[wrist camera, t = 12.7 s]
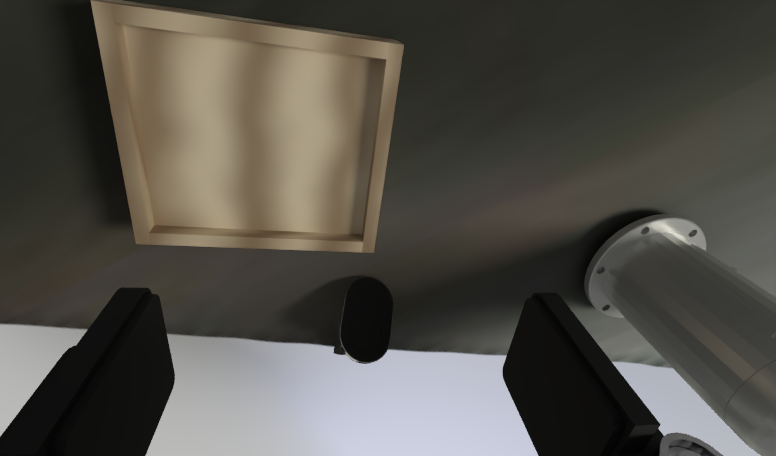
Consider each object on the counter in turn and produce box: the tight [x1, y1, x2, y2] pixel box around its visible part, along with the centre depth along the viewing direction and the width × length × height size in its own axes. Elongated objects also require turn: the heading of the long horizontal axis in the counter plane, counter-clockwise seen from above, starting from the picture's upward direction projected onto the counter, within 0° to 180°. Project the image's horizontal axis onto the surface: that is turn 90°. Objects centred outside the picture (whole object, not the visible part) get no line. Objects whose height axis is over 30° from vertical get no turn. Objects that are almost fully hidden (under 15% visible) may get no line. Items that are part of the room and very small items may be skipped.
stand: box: [334, 277, 393, 364], centre depth 40 cm, size 8×5×8 cm
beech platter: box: [91, 0, 404, 253], centre depth 30 cm, size 18×16×4 cm
